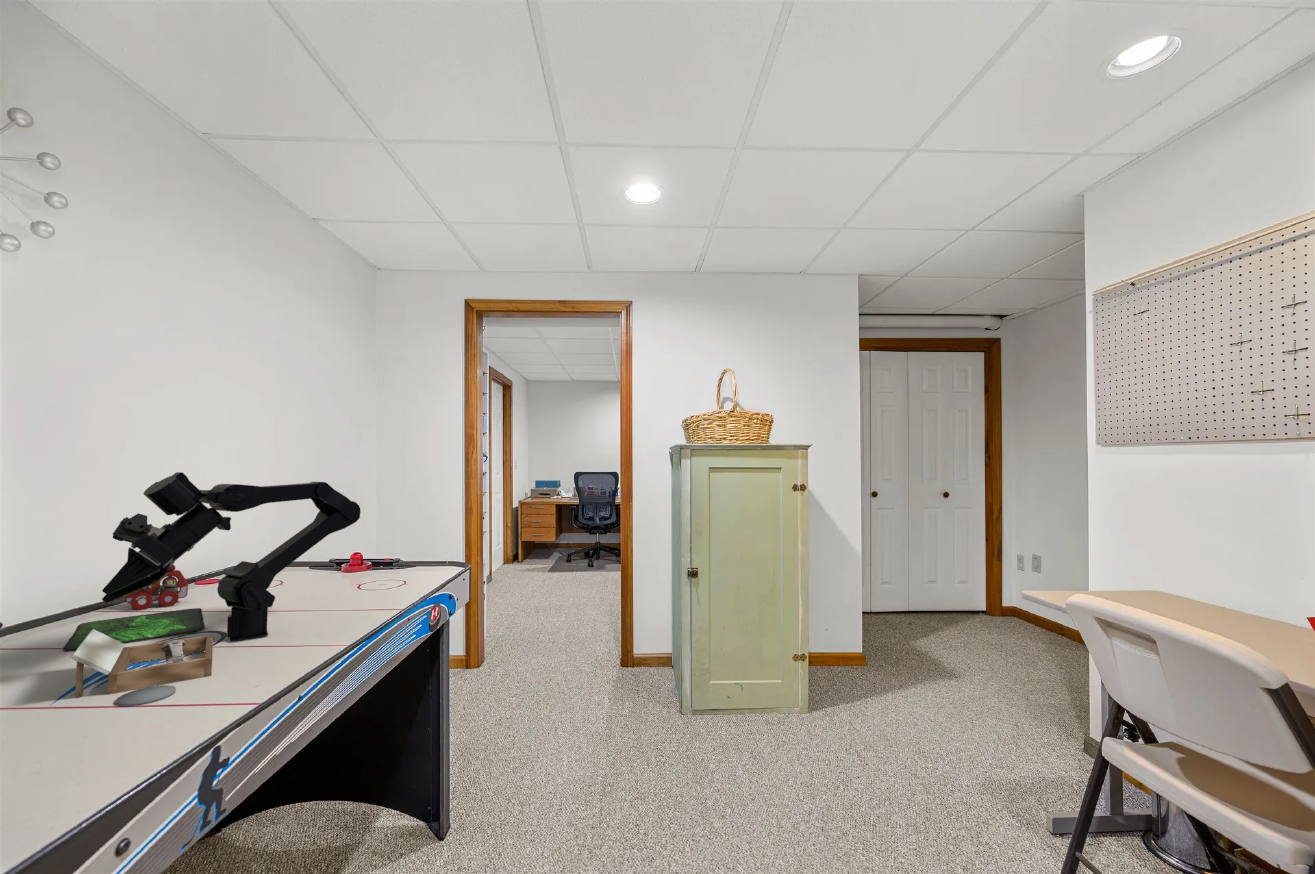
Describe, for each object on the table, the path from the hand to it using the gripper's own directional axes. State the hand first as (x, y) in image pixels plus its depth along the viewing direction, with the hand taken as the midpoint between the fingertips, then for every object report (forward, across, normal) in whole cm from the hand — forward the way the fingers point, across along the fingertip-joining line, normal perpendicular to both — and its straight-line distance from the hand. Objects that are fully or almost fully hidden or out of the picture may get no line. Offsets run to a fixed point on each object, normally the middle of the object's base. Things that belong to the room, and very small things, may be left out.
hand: (104, 597), depth 100 cm
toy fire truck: (-11, -56, +3) cm, 57 cm away
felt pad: (+9, +14, +17) cm, 24 cm away
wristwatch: (+4, +2, +17) cm, 18 cm away
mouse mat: (-3, -35, +6) cm, 36 cm away
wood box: (+6, +1, +15) cm, 16 cm away
